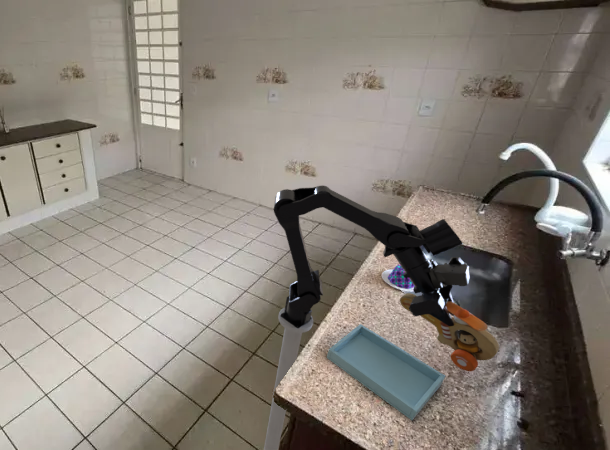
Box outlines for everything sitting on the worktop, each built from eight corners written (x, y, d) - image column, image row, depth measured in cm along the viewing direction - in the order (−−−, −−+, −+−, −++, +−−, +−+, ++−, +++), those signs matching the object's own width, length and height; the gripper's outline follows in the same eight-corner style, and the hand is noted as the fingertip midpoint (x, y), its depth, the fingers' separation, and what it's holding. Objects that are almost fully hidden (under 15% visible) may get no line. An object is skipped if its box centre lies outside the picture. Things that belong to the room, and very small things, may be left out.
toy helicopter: (474, 379, 79) (500, 349, 70) (386, 318, 93) (399, 287, 84) (493, 356, 81) (520, 325, 72) (405, 301, 95) (419, 269, 86)
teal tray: (326, 357, 89) (328, 349, 87) (357, 332, 96) (360, 323, 95) (412, 420, 74) (416, 411, 72) (441, 384, 81) (445, 375, 80)
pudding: (398, 267, 123) (402, 255, 120) (430, 287, 113) (436, 274, 110) (372, 275, 119) (376, 263, 116) (404, 297, 109) (409, 283, 106)
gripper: (445, 270, 71) (490, 337, 70) (458, 236, 83) (497, 292, 82) (391, 285, 79) (431, 345, 78) (411, 252, 91) (445, 303, 90)
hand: (453, 320), depth 82 cm, fingers closed on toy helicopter, 4 cm apart
